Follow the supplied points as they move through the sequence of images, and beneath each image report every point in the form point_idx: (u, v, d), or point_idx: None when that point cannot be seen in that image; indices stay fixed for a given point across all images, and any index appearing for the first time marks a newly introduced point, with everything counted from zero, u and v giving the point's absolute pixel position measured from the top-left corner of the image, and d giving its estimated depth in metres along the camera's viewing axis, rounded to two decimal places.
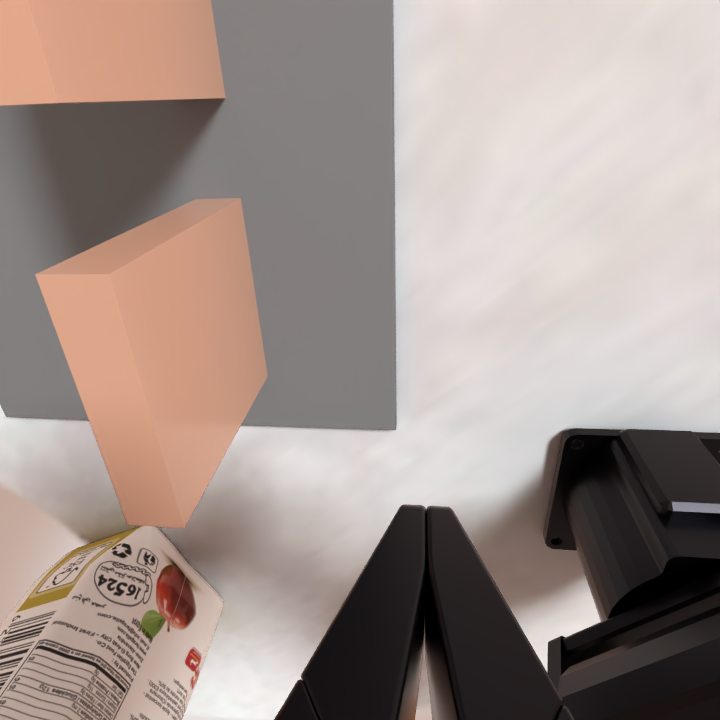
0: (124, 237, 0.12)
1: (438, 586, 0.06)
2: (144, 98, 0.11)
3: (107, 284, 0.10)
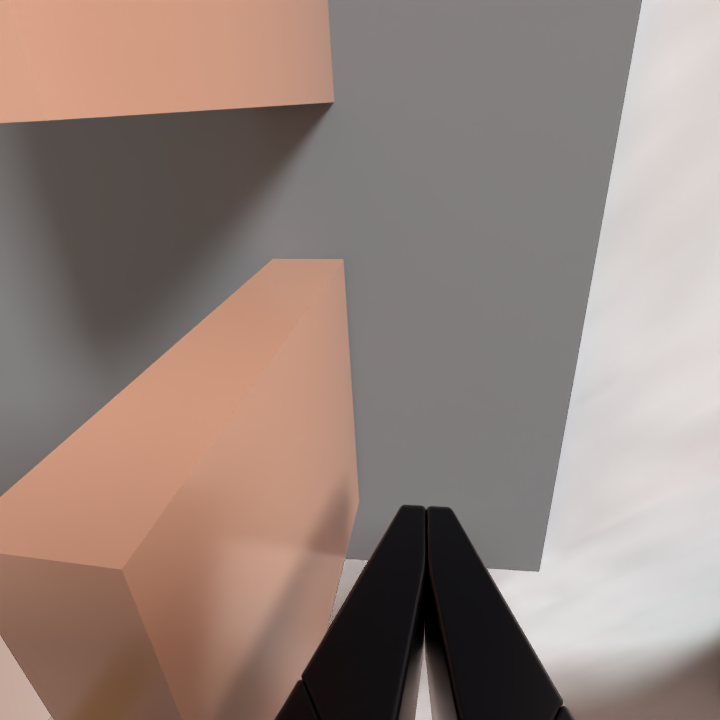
0: (163, 373, 0.06)
1: (438, 586, 0.06)
2: (248, 103, 0.05)
3: (118, 587, 0.04)
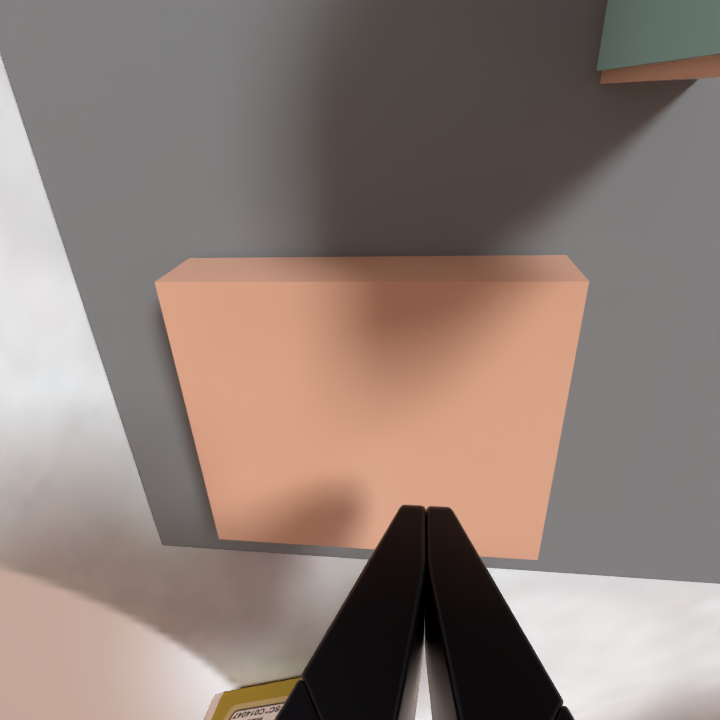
0: (312, 260, 0.10)
1: (438, 586, 0.06)
2: None
3: (159, 290, 0.10)
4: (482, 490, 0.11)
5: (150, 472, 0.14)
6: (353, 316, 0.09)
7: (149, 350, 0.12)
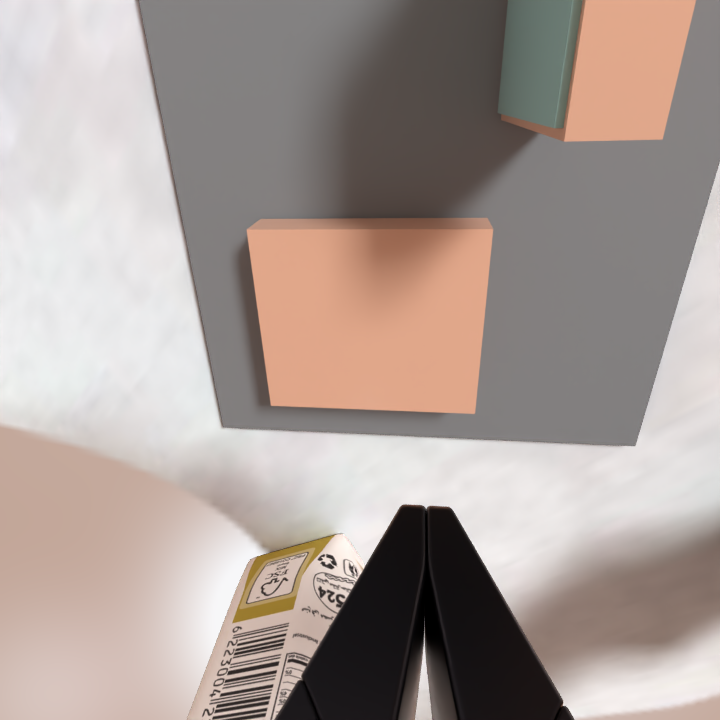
0: (337, 220, 0.17)
1: (438, 586, 0.06)
2: None
3: (248, 235, 0.16)
4: (439, 364, 0.18)
5: (220, 370, 0.21)
6: (362, 250, 0.16)
7: (228, 280, 0.19)
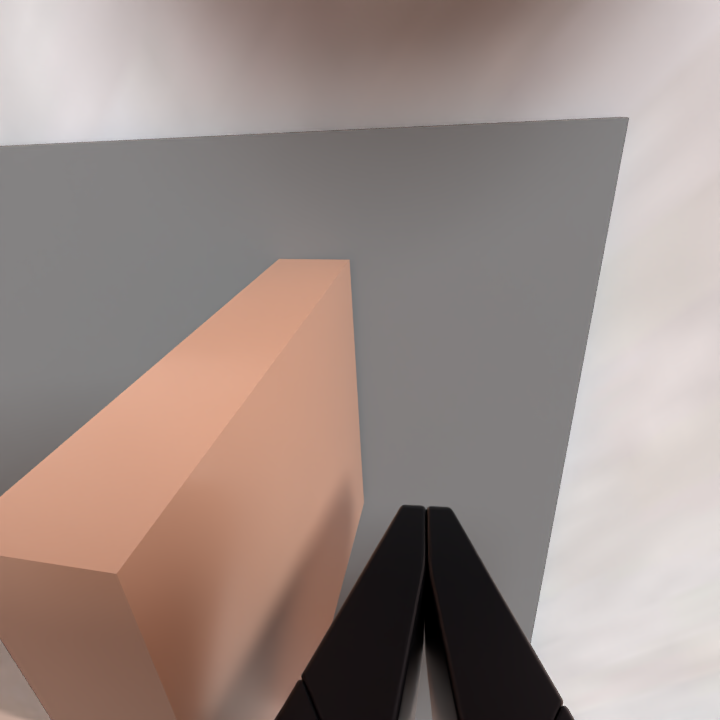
0: None
1: (438, 586, 0.06)
2: None
3: None
4: None
5: None
6: None
7: None
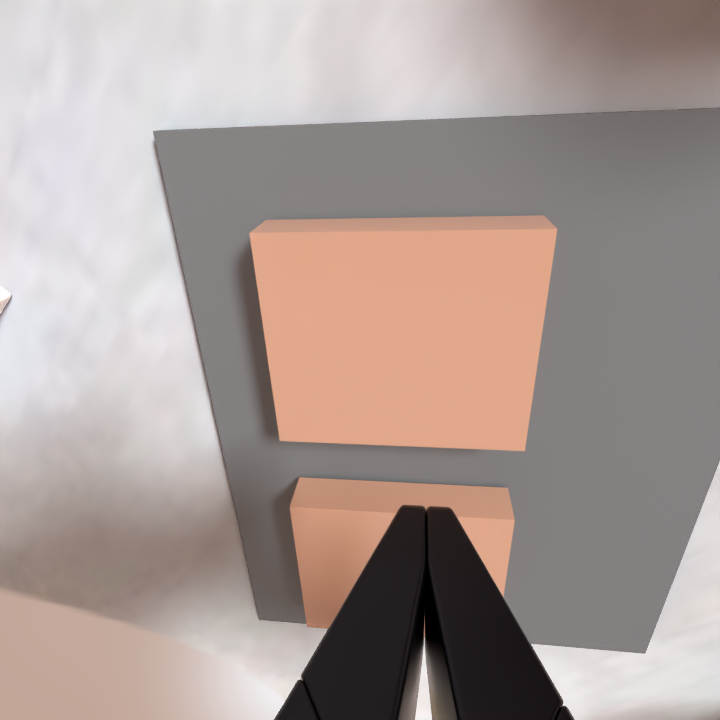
0: (370, 486, 0.19)
1: (438, 586, 0.06)
2: (366, 443, 0.16)
3: (290, 509, 0.18)
4: None
5: (257, 578, 0.23)
6: None
7: (267, 516, 0.21)
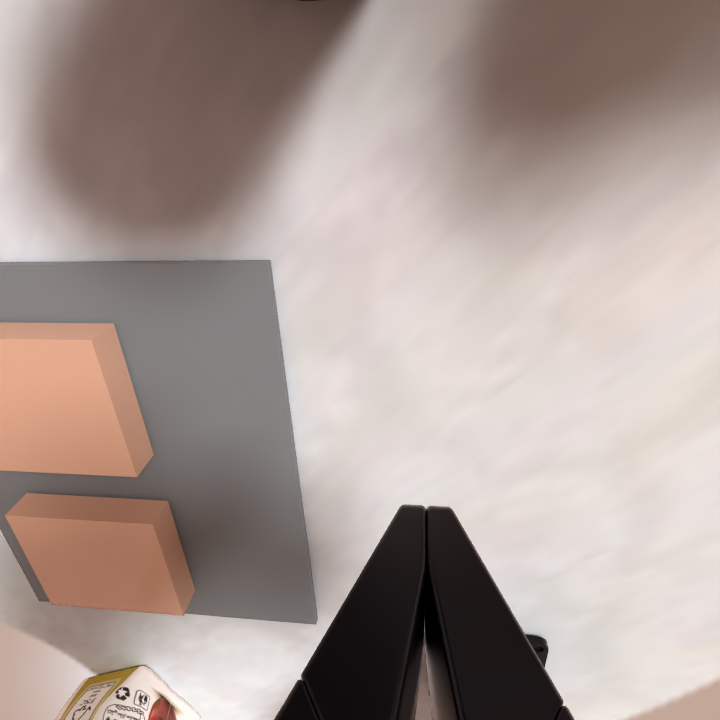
0: (72, 499, 0.26)
1: (438, 586, 0.06)
2: (36, 471, 0.23)
3: (7, 516, 0.25)
4: (149, 588, 0.26)
5: (27, 568, 0.30)
6: (78, 529, 0.25)
7: None
